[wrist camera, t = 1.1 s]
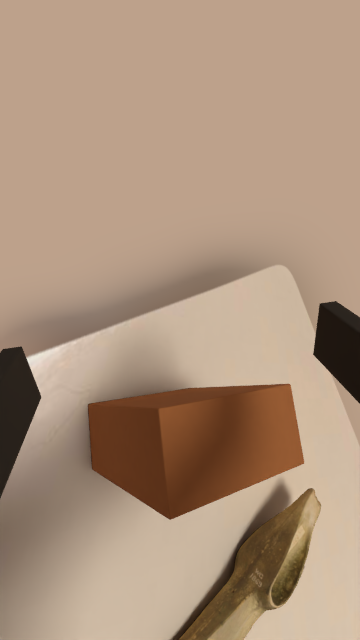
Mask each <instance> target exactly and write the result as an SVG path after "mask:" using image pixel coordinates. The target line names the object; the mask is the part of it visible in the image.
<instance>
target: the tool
mask: <svg viewBox="0 0 360 640" xmlns="http://www.w3.org/2000/svg"><path fill="white" fill-rule="evenodd" d="M320 509H321V504H320V502H319V501H318V500H317V497H316V496H315V490H314V489H312V488H310V489H308V490H307V491H305V493H304V494H302V495H301V496H300V497H299V498H298V499H297V500H296V501H295V502H294V503H293V504H291V505H290V506H289V507H287V508H286V509H285V510H284V511H282V512H281V513H279V514H278V515H276V516H275V517H274V518H272V519H270V520H269V521H268V522H266V523H265V524H263V525H262V526H261V527H260V528H258V529H257V530H256V531H255V532H254V533H253V534H252V535H251V536H250V537H249V538H248V539H247V540H246V542H245V543H244V544H243V545H242V546H241V548H240V549H239V551H238V553H237V555H236V559H235V569H234V572H233V574H232V576H231V578H230V579H229V581H228V582H227V583H226V585H225V586H224V587H223V588H222V589H221V590H220V591H219V593H218V594H217V595H216V596H215V597H214V599H213V600H212V601H211V602H210V603H209V604H208V605H207V607H206V608H205V609H204V610H203V611H202V613H201V614H200V615H199V617H198V618H197V619H196V620H195V622H194V623H193V624H192V625H191V626H190V627H189V629H188V630H187V631H186V632H185V633H184V634H183V635H182V636H181V638H180V639H179V640H243V639H244V638H245V636H246V635H247V633H248V632H249V631H250V629H251V627H252V625H253V624H254V623H255V621H256V620H257V619H258V618H259V617H260V616H261V615H262V614H263V613H264V612H265V611H266V610H272V609H276V608H279V607H281V606H282V605H284V604H285V603H286V602H287V600H288V599H289V598H290V596H291V595H292V593H293V591H294V589H295V587H296V586H297V584H298V581H299V578H300V577H301V574H302V572H303V569H304V564H305V561H306V558H307V554H308V550H309V545H310V541H311V536H312V532H313V529H314V526H315V523H316V520H317V518H318V516H319V513H320Z"/></svg>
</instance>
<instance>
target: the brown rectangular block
mask: <svg viewBox="0 0 360 640" xmlns="http://www.w3.org/2000/svg"><path fill="white" fill-rule="evenodd" d="M88 411H89V426H90V441H91V457H92V469H93V470H94V471H96V472H97V473H99V474H100V475H102V476H103V477H105V478H106V479H108V480H109V481H111V482H113V483H114V484H116V485H117V486H119V487H120V488H122V489H123V490H125V491H126V492H128V493H130V494H131V495H133V496H134V497H136V498H137V499H139V500H140V501H142V502H143V503H145V504H146V505H148V506H150V507H151V508H153V509H154V510H156V511H157V512H159V513H160V514H162V515H163V516H165V517H166V518H168V519H170V520H171V519H173V518H176V517H178V516H180V515H183V514H185V513H187V512H190V511H192V510H195V509H197V508H199V507H202V506H204V505H206V504H209V503H211V502H214V501H216V500H218V499H221V498H223V497H225V496H228V495H230V494H233V493H235V492H237V491H240V490H242V489H244V488H247V487H249V486H252V485H254V484H256V483H259V482H261V481H263V480H266V479H268V478H270V477H273V476H275V475H278V474H280V473H282V472H285V471H287V470H289V469H292V468H294V467H297V466H299V465H301V464H304V459H303V453H302V447H301V442H300V436H299V430H298V425H297V419H296V413H295V408H294V402H293V396H292V391H291V385H290V384H276V385H253V386H229V387H206V388H188V389H181V390H175V391H168V392H162V393H155V394H149V395H143V396H136V397H130V398H123V399H117V400H110V401H104V402H98V403H91V404H88Z"/></svg>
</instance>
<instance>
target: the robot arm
mask: <svg viewBox="0 0 360 640" xmlns="http://www.w3.org/2000/svg"><path fill="white" fill-rule="evenodd" d="M313 355H314V356H315V357H316V358H317V359H318V360H319V361H320V362H321V363H322V364H323V365H324V366H325V367H326V368H327V370H328V371H329V372H330V373H331V374H332V375H333V376H334V377H335V378H336V379H337V380H338V381H339V382H340V383H341V384H342V385H343V386H344V388H345V389H346V390H347V391H348V392H349V393H350V394H351V395H352V396H353V397H354V398H355V399H356V400H357V401H358V402H359V403H360V317H358V316H357V315H355V314H354V313H352V312H351V311H350V310H348V309H347V308H345V307H344V306H342V305H341V304H339V303H337V302H336V301H335V302H328V303H321V304H320V306H319V315H318V323H317V330H316V338H315V345H314V353H313ZM40 399H41V395H40V392H39V390H38V387H37V385H36V382H35V380H34V377H33V374H32V372H31V369H30V367H29V364H28V362H27V359H26V356H25V354H24V351H23V349H22V347H16V348H8V349H3V350H2V351H1V353H0V498H1V495H2V493H3V490H4V488H5V485H6V483H7V480H8V478H9V475H10V473H11V471H12V468H13V466H14V463H15V461H16V458H17V456H18V453H19V451H20V448H21V446H22V443H23V441H24V439H25V436H26V434H27V431H28V429H29V426H30V424H31V421H32V419H33V416H34V414H35V411H36V409H37V407H38V404H39V402H40Z"/></svg>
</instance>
